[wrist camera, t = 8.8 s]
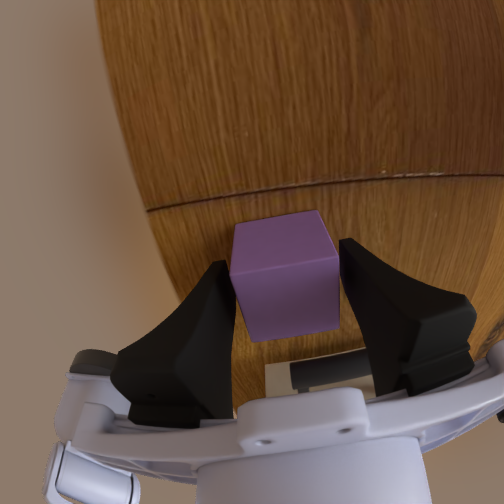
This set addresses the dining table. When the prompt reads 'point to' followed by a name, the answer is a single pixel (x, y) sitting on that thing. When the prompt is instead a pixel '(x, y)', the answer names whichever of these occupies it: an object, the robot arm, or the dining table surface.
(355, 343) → the dining table surface
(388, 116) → the dining table surface
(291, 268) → the cube
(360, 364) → the beige drawer
